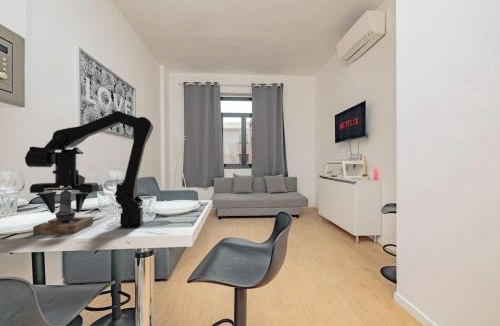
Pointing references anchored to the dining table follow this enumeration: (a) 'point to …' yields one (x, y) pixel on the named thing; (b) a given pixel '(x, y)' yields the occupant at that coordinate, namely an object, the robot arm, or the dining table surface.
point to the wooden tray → (63, 226)
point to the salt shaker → (65, 209)
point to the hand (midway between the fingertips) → (65, 212)
